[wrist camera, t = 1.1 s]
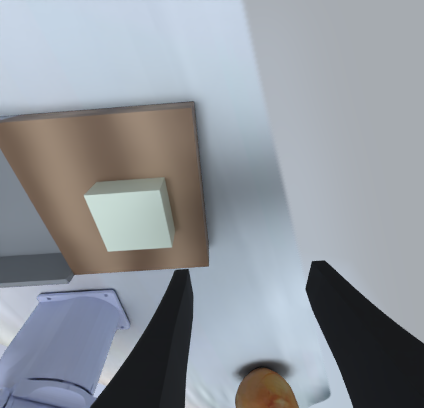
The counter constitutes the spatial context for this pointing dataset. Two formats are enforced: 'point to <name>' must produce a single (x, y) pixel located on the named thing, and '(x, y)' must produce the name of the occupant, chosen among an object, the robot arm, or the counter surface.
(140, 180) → the tile
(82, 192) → the plate
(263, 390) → the onion
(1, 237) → the box
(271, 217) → the counter surface
